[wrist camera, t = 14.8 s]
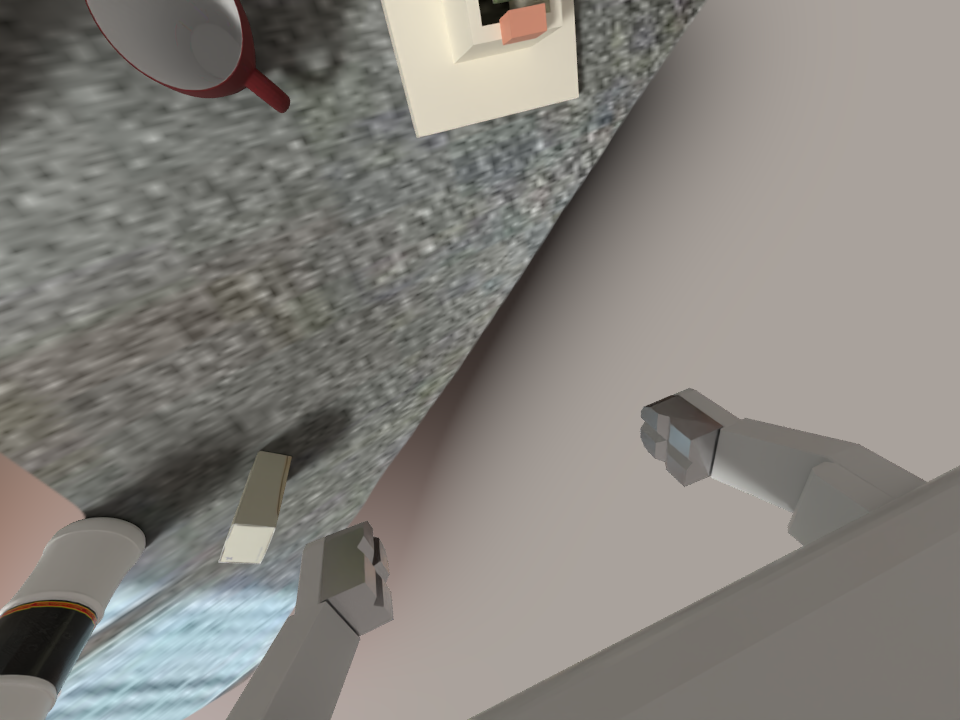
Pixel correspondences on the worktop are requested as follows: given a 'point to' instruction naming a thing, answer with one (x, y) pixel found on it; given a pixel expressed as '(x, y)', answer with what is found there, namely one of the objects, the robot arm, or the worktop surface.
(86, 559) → the vodka
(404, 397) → the worktop surface
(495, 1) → the column
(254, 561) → the skincare box
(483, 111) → the stand
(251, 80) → the mug
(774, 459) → the robot arm
